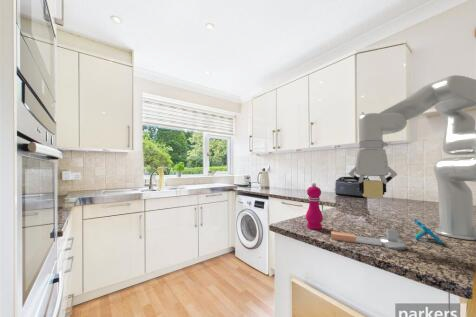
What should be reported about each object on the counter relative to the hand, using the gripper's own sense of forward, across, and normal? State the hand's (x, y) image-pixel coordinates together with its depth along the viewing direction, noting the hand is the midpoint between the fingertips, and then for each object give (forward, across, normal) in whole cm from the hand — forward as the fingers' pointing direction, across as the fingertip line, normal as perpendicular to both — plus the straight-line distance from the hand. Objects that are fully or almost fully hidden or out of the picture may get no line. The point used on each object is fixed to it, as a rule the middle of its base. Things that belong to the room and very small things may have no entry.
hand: (372, 193), depth 76 cm
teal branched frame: (+18, -18, -9) cm, 27 cm away
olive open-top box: (+1, 0, 0) cm, 1 cm away
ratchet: (+17, +3, +4) cm, 18 cm away
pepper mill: (+17, +22, -6) cm, 28 cm away
